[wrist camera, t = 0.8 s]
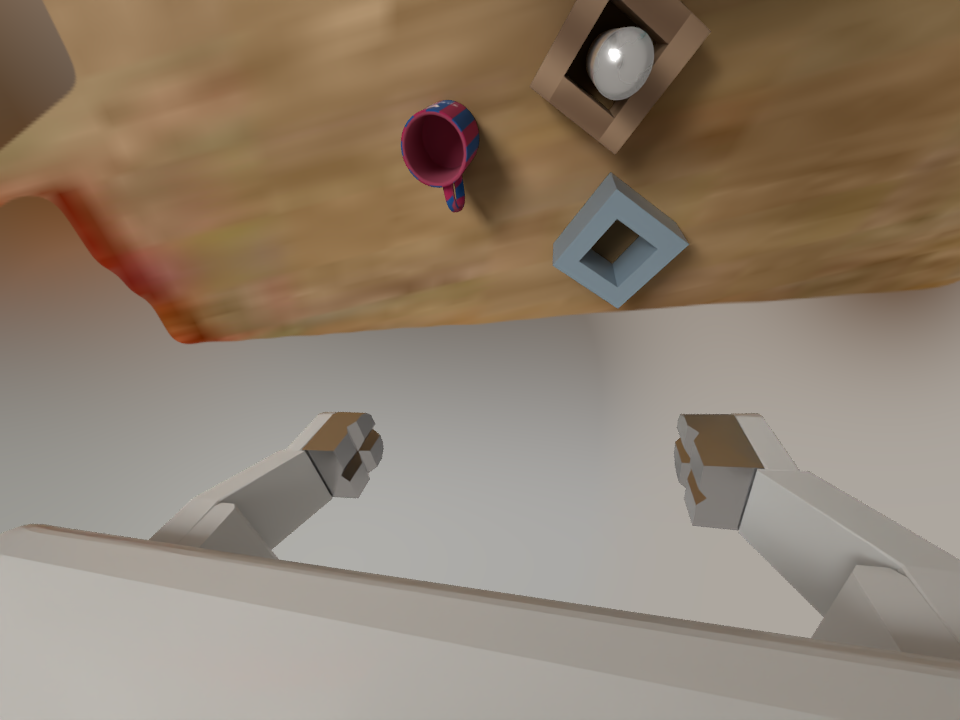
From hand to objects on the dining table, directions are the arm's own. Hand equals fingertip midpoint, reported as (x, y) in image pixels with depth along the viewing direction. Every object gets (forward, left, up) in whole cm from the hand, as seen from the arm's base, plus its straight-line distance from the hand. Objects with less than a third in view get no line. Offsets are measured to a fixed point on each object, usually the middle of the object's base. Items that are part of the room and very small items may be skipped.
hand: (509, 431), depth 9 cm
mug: (+7, -8, -39) cm, 41 cm away
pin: (-8, +1, -39) cm, 40 cm away
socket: (+4, +13, -39) cm, 41 cm away
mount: (-8, +1, -39) cm, 40 cm away
